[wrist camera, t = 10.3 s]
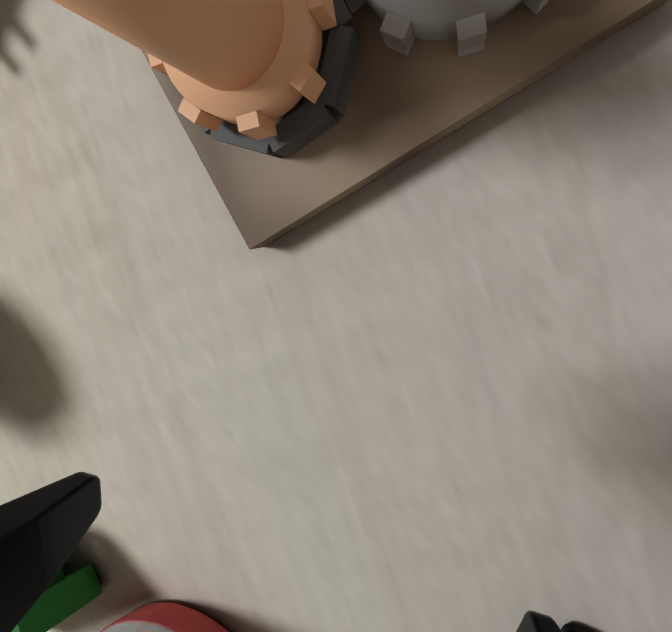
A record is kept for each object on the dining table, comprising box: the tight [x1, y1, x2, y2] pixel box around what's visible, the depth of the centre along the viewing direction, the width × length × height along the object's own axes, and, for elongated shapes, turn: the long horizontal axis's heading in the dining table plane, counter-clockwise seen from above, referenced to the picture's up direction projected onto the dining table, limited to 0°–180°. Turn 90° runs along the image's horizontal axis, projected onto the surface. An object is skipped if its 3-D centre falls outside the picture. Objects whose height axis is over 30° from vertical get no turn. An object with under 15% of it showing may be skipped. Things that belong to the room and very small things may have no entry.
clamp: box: [12, 563, 102, 632], centre depth 29 cm, size 12×6×9 cm, turn 119°
